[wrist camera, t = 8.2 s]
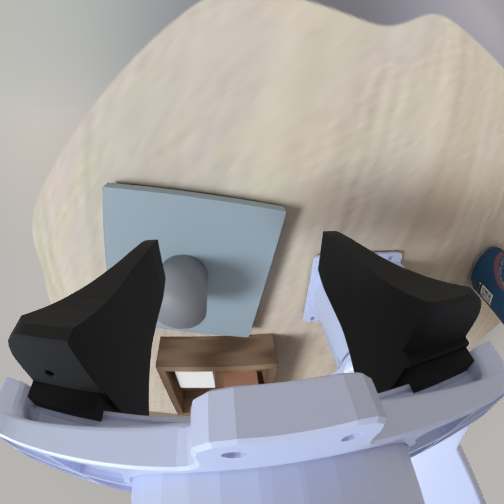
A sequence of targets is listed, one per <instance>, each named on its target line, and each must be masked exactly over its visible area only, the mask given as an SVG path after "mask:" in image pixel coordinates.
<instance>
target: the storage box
mask: <svg viewBox="0 0 504 504" xmlns="http://www.w3.org/2000/svg"><path fill="white" fill-rule="evenodd" d="M277 365H278V362H277V357H276V352H275V347H274V342H273V337H272V334H261V335H249V337H236V336H219V337H161V338H160V344H159V350H158V355H157V361H156V368H157V371H158V373H159V375H160V378H161V380H162V382H163V384H164V386H165V389H166V391H167V393H168V395H169V397H170V399H171V401H172V403H173V405H174V407H175V409H176V411H177V413H178V415H186V416H191V407H192V402H193V400H194V399H196V398H197V397H199V396H201V395H203V394H205V393H206V392H208V391H210V390H214V389H220V388H224V372H244V371H257V378H258V384H268V383H275V377H276V371H277ZM175 371H176V372H214V371H215V388H181V387H180V385H179V382H178V379H177V376H176V374H175Z"/></svg>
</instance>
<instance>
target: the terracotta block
mask: <svg viewBox="0 0 504 504" xmlns="http://www.w3.org/2000/svg"><path fill="white" fill-rule="evenodd" d="M257 384H258V378H257V371H244V372H224V388H226V387H231V386H244V385H257Z"/></svg>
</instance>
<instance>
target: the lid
mask: <svg viewBox="0 0 504 504" xmlns="http://www.w3.org/2000/svg"><path fill="white" fill-rule="evenodd" d="M285 215H286V210H285V208H284V206H278V205H273V204H267V203H261V202H255V201H249V200H243V199H237V198H230V197H224V196H217V195H210V194H203V193H196V192H188V191H181V190H173V189H165V188H156V187H147V186H138V185H128V184H118V183H107V184H106V185H104V186H103V225H104V242H105V255H106V265H107V270H109V269H110V268H111V267H112V266H114V265H115V264H116V263H118V262H119V261H120V260H121V259H122V258H123V257H125V256H126V255H127V254H128V253H129V252H130V251H132V250H133V249H134V248H135V247H136V246H138V245H139V244H140V243H141V242H143V241H144V240H157V239H158V243H159V248H160V253H161V258H162V263H163V268H164V272H165V277H166V280H165V289H164V296H163V301H162V305H161V309H160V312H159V316H158V320H157V324H156V328H163V329H170V330H178V331H186V332H195V333H204V334H213V335H224V336H236V337H249V335H250V332H251V328H252V325H253V322H254V319H255V316H256V312H257V309H258V306H259V303H260V300H261V296H262V293H263V290H264V286H265V283H266V280H267V277H268V273H269V270H270V267H271V263H272V260H273V257H274V253H275V250H276V246H277V243H278V240H279V236H280V233H281V229H282V226H283V222H284V219H285Z"/></svg>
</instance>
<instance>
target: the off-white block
mask: <svg viewBox="0 0 504 504" xmlns="http://www.w3.org/2000/svg"><path fill="white" fill-rule="evenodd" d="M175 374H176V376H177V379H178V382H179V385H180V387H181V388H215V371H214V372H176V371H175Z"/></svg>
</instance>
